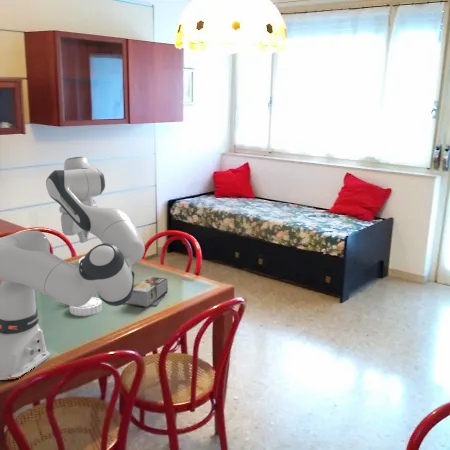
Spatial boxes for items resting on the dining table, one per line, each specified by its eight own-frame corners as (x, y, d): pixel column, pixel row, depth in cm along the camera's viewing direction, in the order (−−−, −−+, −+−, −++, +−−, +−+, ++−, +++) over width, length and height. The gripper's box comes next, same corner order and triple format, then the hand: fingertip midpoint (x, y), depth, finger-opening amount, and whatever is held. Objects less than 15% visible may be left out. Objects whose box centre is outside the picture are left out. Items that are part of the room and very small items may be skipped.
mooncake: (72, 318, 190) (72, 309, 189) (67, 307, 201) (66, 298, 200) (105, 313, 195) (104, 304, 194) (98, 301, 206) (97, 293, 205)
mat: (156, 306, 201) (156, 304, 201) (117, 303, 203) (117, 302, 203) (168, 289, 218) (168, 288, 218) (131, 287, 221) (131, 286, 220)
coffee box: (147, 307, 198) (168, 293, 212) (146, 292, 197) (168, 278, 211) (127, 303, 202) (149, 289, 216) (126, 288, 200) (149, 275, 215)
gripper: (87, 198, 191) (90, 234, 194) (56, 209, 172) (60, 249, 175) (102, 198, 189) (105, 234, 192) (73, 209, 170) (77, 249, 173)
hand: (84, 241), depth 183 cm, fingers closed
